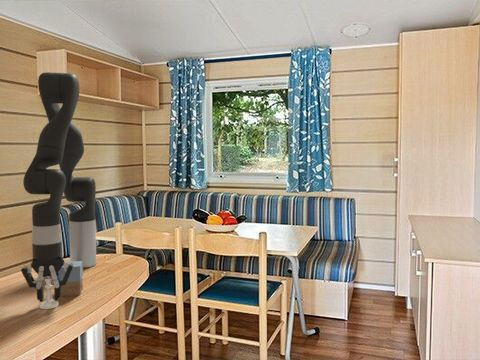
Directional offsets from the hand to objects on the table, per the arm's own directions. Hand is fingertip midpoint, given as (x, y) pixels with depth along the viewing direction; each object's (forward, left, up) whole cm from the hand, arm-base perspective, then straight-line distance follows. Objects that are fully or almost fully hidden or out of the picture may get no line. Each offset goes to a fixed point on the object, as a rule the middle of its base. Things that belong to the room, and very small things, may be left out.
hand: (49, 300), depth 118 cm
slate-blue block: (-10, +5, +3) cm, 11 cm away
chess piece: (0, 0, -2) cm, 2 cm away
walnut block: (-10, +4, -2) cm, 11 cm away
